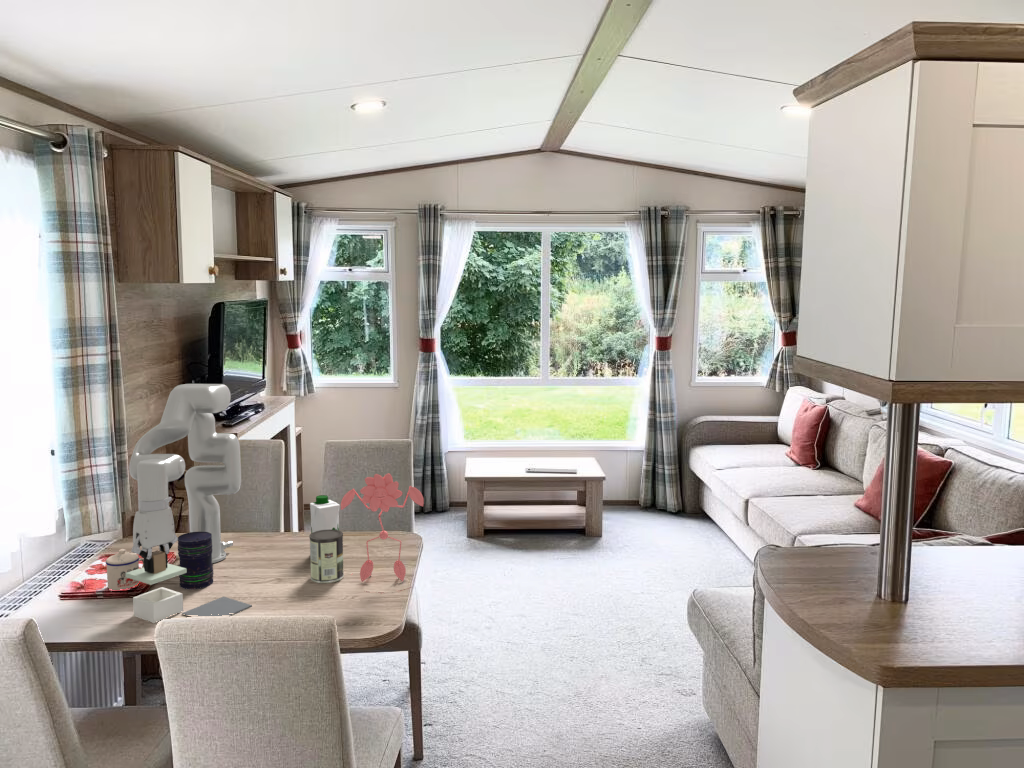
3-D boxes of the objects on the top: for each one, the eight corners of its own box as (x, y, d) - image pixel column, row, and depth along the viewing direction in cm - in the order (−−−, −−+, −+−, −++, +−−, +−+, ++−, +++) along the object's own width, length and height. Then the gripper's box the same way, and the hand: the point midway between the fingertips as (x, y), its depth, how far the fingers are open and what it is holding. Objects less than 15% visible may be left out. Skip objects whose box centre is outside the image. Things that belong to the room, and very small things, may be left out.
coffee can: (331, 569, 251) (330, 527, 250) (350, 577, 244) (349, 534, 243) (303, 577, 244) (302, 534, 242) (322, 586, 237) (321, 541, 235)
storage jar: (175, 582, 239) (173, 535, 237) (208, 575, 245) (206, 529, 243) (184, 592, 231) (182, 543, 229) (218, 585, 237) (216, 537, 235)
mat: (223, 597, 227) (223, 596, 227) (251, 606, 221) (251, 605, 221) (182, 614, 215) (181, 613, 215) (210, 624, 209) (210, 622, 209)
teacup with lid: (118, 595, 228) (116, 557, 227) (100, 588, 233) (98, 551, 231) (155, 582, 238) (153, 545, 237) (137, 576, 243) (135, 540, 242)
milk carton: (331, 548, 271) (330, 493, 268) (343, 556, 264) (342, 498, 261) (308, 554, 265) (306, 497, 263) (319, 561, 258) (318, 503, 256)
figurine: (344, 574, 247) (342, 467, 242) (425, 575, 247) (425, 468, 242) (334, 594, 232) (332, 480, 226) (420, 595, 232) (420, 481, 227)
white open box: (162, 605, 222) (162, 586, 221) (183, 612, 217) (182, 593, 217) (133, 616, 214) (132, 597, 213) (154, 623, 210) (153, 604, 209)
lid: (161, 565, 221) (160, 544, 221) (186, 572, 216) (185, 551, 215) (125, 577, 212) (124, 555, 211) (150, 584, 206) (149, 562, 206)
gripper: (171, 496, 221) (173, 559, 223) (116, 509, 207) (119, 576, 208) (188, 500, 217) (190, 563, 219) (134, 513, 203) (136, 581, 205)
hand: (156, 569), depth 214 cm, fingers closed on lid, 3 cm apart
